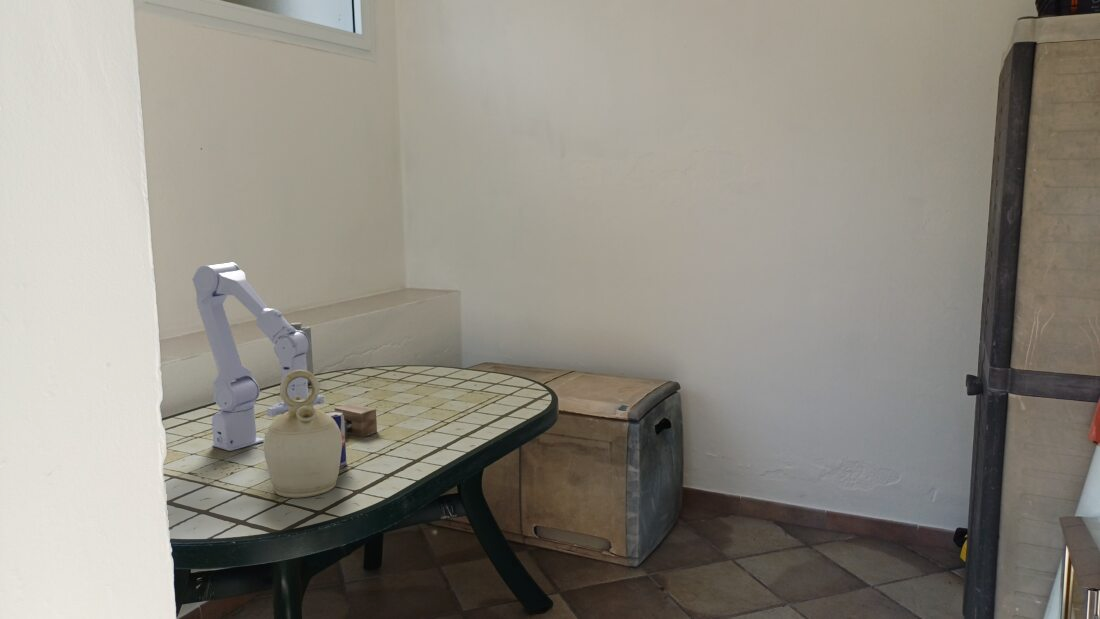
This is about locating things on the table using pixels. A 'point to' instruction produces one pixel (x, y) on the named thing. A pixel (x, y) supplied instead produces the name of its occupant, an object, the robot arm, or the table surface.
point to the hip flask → (309, 354)
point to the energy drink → (340, 422)
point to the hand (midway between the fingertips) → (298, 439)
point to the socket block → (359, 419)
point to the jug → (302, 445)
